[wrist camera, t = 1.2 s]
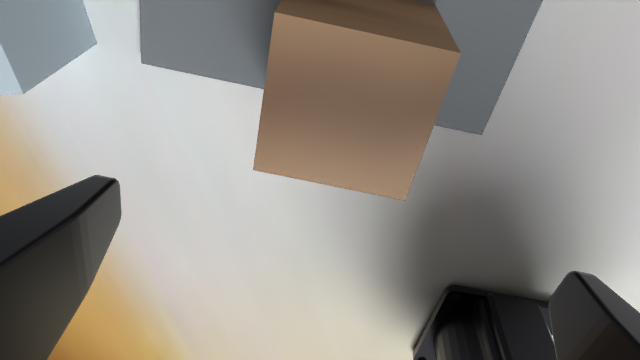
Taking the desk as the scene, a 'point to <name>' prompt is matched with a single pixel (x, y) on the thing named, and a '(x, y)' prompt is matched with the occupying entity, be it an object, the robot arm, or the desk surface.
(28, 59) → the block
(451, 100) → the build mat
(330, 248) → the desk surface
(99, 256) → the robot arm
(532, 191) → the desk surface
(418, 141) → the walnut block
